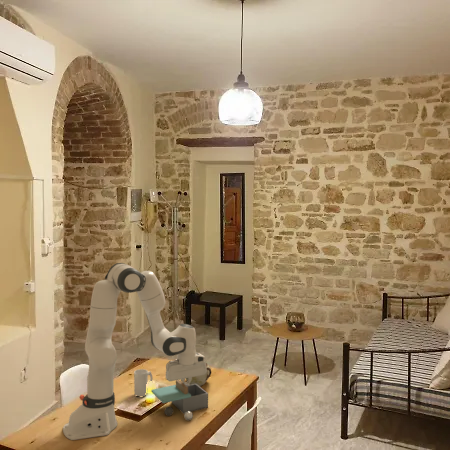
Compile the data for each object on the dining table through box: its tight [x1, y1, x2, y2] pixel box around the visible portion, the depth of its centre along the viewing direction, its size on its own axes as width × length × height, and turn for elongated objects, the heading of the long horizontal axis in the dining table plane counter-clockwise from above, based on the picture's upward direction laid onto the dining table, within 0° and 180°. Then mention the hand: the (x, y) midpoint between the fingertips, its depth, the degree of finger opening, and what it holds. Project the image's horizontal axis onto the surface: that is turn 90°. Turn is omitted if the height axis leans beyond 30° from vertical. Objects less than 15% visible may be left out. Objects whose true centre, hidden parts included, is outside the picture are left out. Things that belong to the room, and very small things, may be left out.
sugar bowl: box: [185, 362, 212, 387], centre depth 257 cm, size 20×15×15 cm
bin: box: [171, 384, 209, 415], centre depth 231 cm, size 13×13×7 cm
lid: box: [150, 379, 191, 404], centre depth 225 cm, size 14×14×4 cm
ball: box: [164, 406, 174, 417], centre depth 220 cm, size 4×4×4 cm
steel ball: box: [183, 411, 194, 421], centre depth 216 cm, size 4×4×4 cm
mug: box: [133, 368, 154, 397], centre depth 242 cm, size 10×7×12 cm, turn 130°
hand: (186, 386), depth 229 cm, fingers closed
